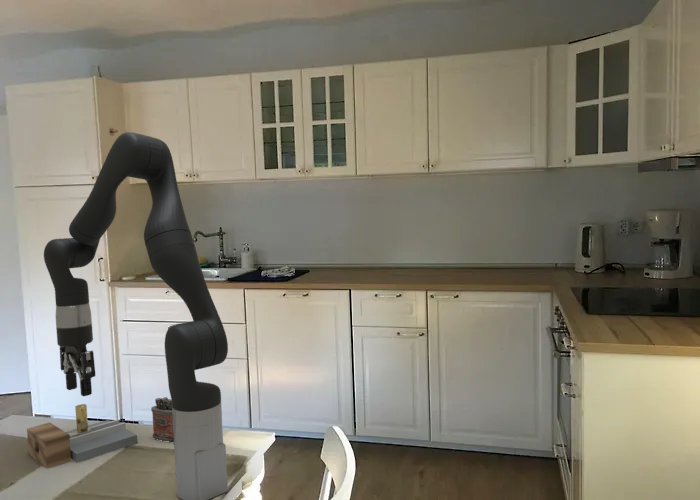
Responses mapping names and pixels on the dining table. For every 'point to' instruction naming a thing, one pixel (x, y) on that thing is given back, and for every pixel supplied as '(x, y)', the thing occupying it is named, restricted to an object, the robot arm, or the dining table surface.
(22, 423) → the dining table surface
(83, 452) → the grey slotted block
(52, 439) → the jamb keeper
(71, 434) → the bolt
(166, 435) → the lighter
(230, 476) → the dining table surface
